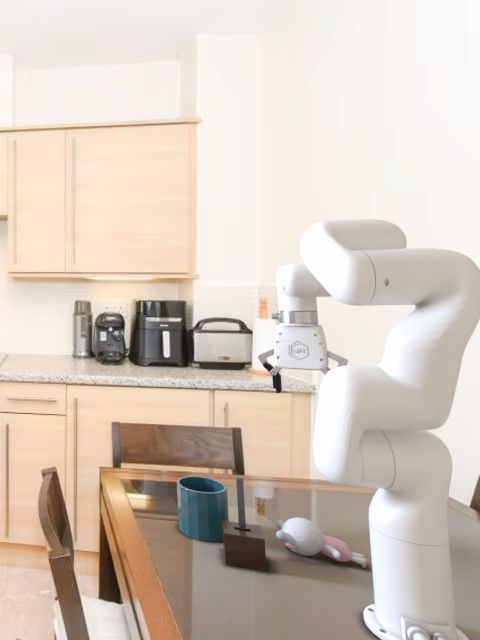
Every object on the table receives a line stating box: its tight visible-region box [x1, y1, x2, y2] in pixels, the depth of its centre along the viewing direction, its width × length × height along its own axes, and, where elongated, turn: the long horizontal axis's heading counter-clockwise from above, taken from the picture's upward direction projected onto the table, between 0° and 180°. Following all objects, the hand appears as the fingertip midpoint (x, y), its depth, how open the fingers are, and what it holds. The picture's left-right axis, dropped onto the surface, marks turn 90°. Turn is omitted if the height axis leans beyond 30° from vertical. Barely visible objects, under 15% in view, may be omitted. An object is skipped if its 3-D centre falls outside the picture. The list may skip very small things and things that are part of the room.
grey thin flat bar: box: [235, 476, 247, 531], centre depth 102 cm, size 1×2×16 cm, turn 66°
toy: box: [275, 517, 368, 569], centre depth 102 cm, size 8×7×15 cm
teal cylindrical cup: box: [176, 475, 230, 542], centre depth 114 cm, size 10×10×10 cm
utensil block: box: [222, 520, 268, 572], centre depth 101 cm, size 6×7×6 cm
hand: (303, 394), depth 116 cm, fingers open, 9 cm apart
